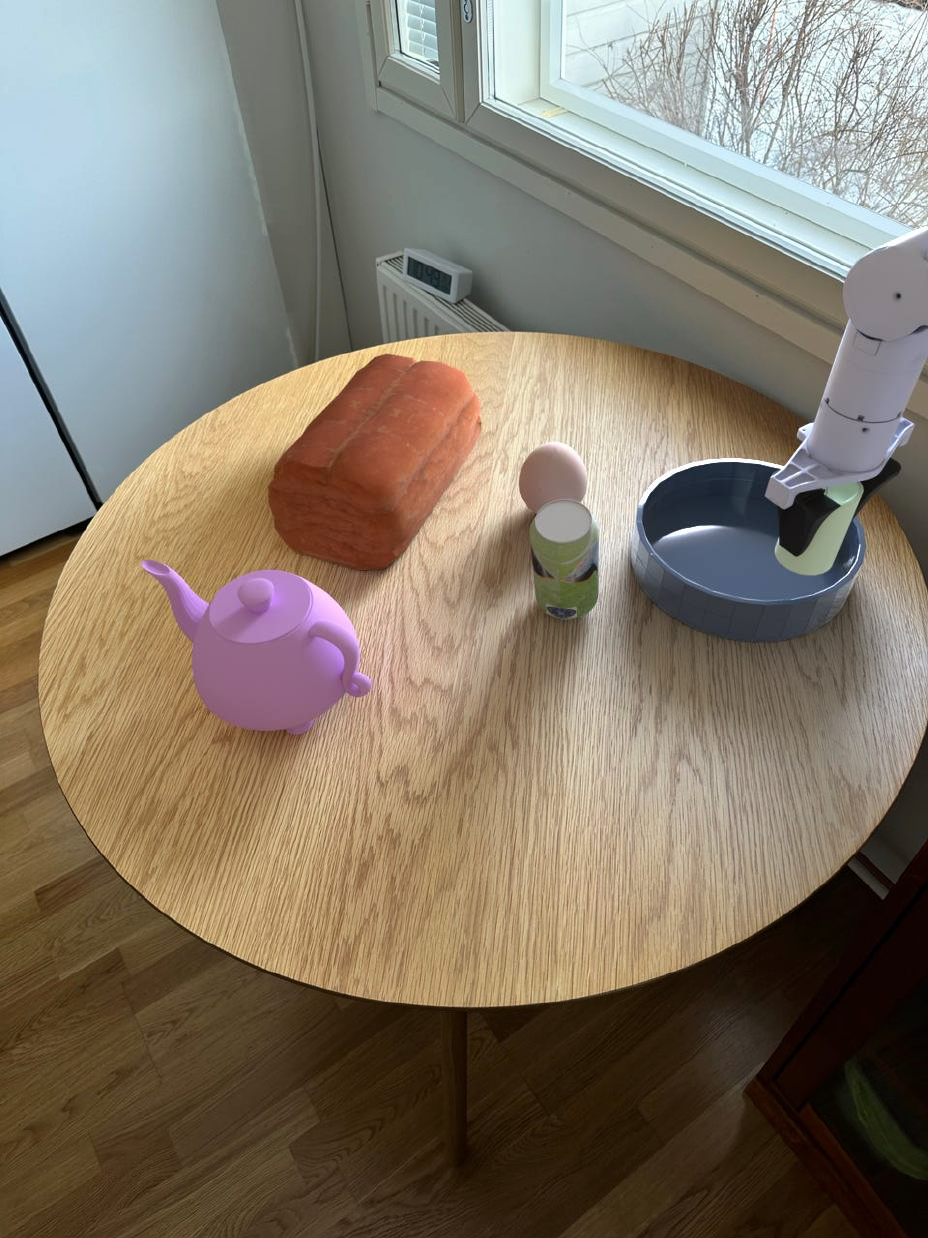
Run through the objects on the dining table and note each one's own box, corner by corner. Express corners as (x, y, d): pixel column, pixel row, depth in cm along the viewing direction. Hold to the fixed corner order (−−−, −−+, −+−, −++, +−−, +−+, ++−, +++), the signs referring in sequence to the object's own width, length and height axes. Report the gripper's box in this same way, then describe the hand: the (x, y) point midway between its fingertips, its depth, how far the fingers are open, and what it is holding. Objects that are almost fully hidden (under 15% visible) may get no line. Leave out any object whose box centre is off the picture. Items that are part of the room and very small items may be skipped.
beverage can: (605, 590, 81) (617, 494, 72) (580, 642, 76) (590, 546, 67) (545, 573, 83) (550, 477, 74) (517, 623, 78) (519, 527, 69)
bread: (491, 435, 99) (490, 354, 91) (397, 582, 82) (385, 499, 75) (376, 411, 103) (365, 333, 96) (264, 546, 87) (240, 465, 79)
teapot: (139, 711, 73) (86, 615, 63) (228, 603, 81) (192, 505, 72) (337, 782, 67) (310, 688, 58) (410, 657, 76) (397, 558, 66)
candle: (770, 568, 72) (795, 495, 66) (778, 532, 75) (803, 459, 69) (829, 582, 71) (861, 509, 65) (836, 545, 74) (866, 472, 68)
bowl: (838, 506, 88) (853, 468, 84) (860, 656, 74) (879, 619, 70) (637, 486, 91) (643, 449, 88) (622, 626, 77) (628, 589, 74)
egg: (597, 504, 89) (603, 440, 83) (562, 541, 86) (566, 477, 79) (541, 482, 92) (543, 418, 86) (505, 516, 89) (505, 453, 83)
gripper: (883, 347, 66) (831, 482, 76) (753, 408, 61) (717, 543, 71) (961, 387, 62) (896, 523, 72) (830, 455, 57) (780, 592, 67)
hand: (811, 536), depth 71 cm, fingers closed on candle, 5 cm apart
